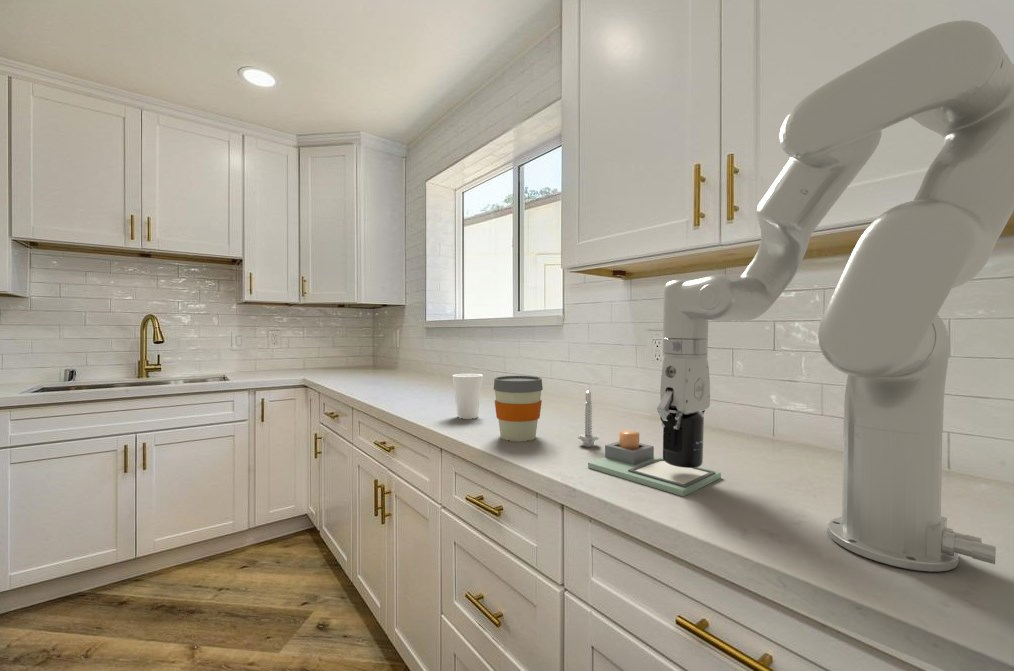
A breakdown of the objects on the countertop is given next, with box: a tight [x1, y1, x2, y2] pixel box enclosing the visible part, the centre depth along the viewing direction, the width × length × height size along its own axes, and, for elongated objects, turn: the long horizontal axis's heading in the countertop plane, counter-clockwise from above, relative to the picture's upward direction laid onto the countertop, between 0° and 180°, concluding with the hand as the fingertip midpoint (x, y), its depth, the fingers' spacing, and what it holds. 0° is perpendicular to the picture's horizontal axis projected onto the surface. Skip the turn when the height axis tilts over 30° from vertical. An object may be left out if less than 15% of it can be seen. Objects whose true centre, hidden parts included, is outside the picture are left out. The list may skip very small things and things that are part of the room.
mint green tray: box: [587, 440, 722, 497], centre depth 86 cm, size 20×14×4 cm
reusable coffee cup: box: [493, 375, 544, 442], centre depth 114 cm, size 12×13×15 cm
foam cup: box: [452, 373, 484, 420], centre depth 139 cm, size 10×9×13 cm
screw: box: [577, 390, 599, 448], centre depth 105 cm, size 13×5×5 cm
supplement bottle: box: [662, 408, 705, 468], centre depth 81 cm, size 7×7×12 cm
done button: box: [618, 429, 640, 450], centre depth 92 cm, size 4×4×4 cm
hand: (682, 445), depth 81 cm, fingers closed on supplement bottle, 6 cm apart
